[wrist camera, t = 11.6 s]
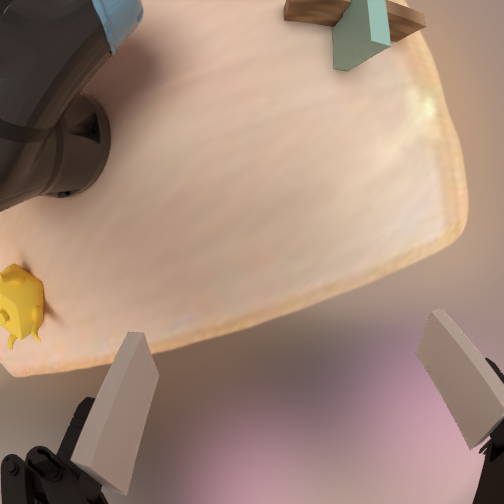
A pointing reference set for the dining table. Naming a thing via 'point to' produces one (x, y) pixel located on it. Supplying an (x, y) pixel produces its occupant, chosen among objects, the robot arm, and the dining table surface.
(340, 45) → the sage plate
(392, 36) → the walnut plate
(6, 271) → the yellow lumpy piece
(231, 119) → the dining table surface
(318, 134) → the dining table surface
